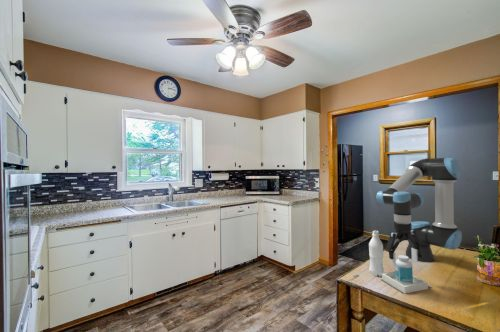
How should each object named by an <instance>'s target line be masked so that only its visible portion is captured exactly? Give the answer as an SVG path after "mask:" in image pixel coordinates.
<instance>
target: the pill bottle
mask: <svg viewBox="0 0 500 332" xmlns="http://www.w3.org/2000/svg"><path fill="white" fill-rule="evenodd" d="M394 269H395V271H394V272H395V275H396V281H397V282H399V283H401V284H402V285H404V286H406V285H411V284H413V275H414V274H413V264H412V262H411V261H410V258H409V257H407V256H406V254H405V255H404V254H399V255H398V256H397V259H396V266H394Z"/></svg>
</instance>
